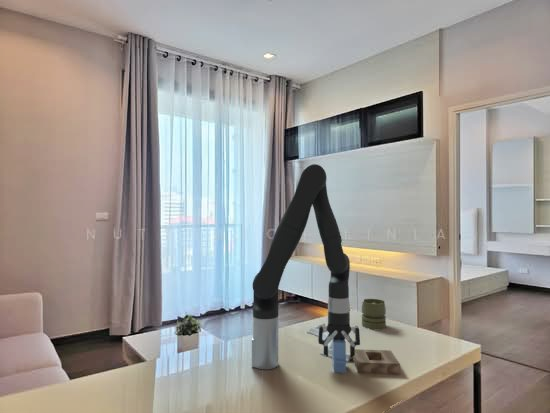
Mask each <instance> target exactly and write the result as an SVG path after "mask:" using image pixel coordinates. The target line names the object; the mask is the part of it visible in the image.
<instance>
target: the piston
mask: <svg viewBox="0 0 550 413" xmlns="http://www.w3.org/2000/svg"><path fill="white" fill-rule="evenodd" d="M361 304H362V305H361V327H363V328H364V329H368V328H369V330H375V329H379V330H384V329H386V328H387V321H386V318H387V317H386V314H387V313H386V312H387V311H386V309H387V308H386V303H385V300H382V299H378V298H364V299H363V301H362V303H361Z"/></svg>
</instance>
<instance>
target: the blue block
mask: <svg viewBox="0 0 550 413" xmlns="http://www.w3.org/2000/svg"><path fill="white" fill-rule="evenodd" d="M346 345H347V344H346V338H345V339H344V340H340V339H338V340H335V339H332V350H333V351H332V354H333V358H332V367H333V368H332V370H333V373H347V362H346V353H347V349H346V348H347V346H346Z"/></svg>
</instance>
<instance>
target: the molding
mask: <svg viewBox="0 0 550 413" xmlns="http://www.w3.org/2000/svg"><path fill="white" fill-rule="evenodd" d="M320 325H322V326H326V323H324V322H322V323H319V324H317V325H316V326H313V327H311V328H310V329H309V330H306V333H307V334H310V335H313V336H316V337H317V338H319V326H320ZM327 332H328V331H327V330H325V332H324V333H323V336H322V340H325V339H326V337H327V336H328V334H329V332H328V333H327ZM332 351H333V350H332V340H331V342H329V344H328V357H327V358H331V359H333V354H332ZM319 354H320V356H324V357H326V355H324V349H323V350H322V351H321V352H319ZM351 360H353V358H351V357H350V353H348V352H346V363H349V362H350V361H351Z"/></svg>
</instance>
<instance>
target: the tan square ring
mask: <svg viewBox="0 0 550 413" xmlns="http://www.w3.org/2000/svg"><path fill="white" fill-rule="evenodd" d="M352 360H353V363H354V366H355V370H356V372H357V373H358V374H374V375H375V374H378V375H401V363H400V361H398V359H397V357H396V356H395V354H394V353H393V351H392V350H386V349H385V350H383V349H356V348H355V355H354V356H353V359H352Z"/></svg>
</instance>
